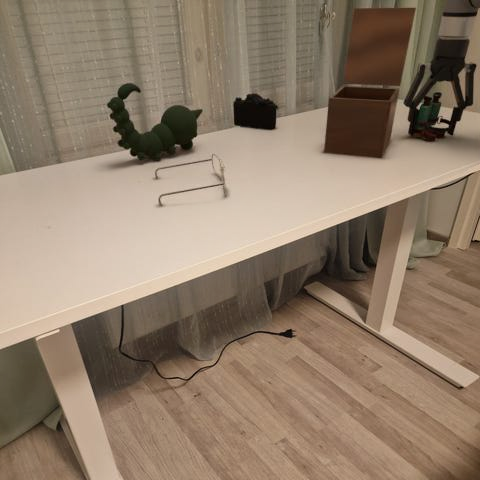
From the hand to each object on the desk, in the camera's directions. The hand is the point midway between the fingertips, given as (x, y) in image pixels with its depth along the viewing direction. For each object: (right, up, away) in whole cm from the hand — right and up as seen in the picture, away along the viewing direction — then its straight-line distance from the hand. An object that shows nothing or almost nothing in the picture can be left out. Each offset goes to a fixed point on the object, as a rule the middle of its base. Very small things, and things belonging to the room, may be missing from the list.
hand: (430, 134), depth 117 cm
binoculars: (0, -1, +1) cm, 1 cm away
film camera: (-47, +10, +16) cm, 51 cm away
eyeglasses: (-63, -22, -23) cm, 71 cm away
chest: (-21, -5, -4) cm, 22 cm away
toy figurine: (-72, -8, -5) cm, 73 cm away
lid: (-18, +17, -10) cm, 27 cm away
